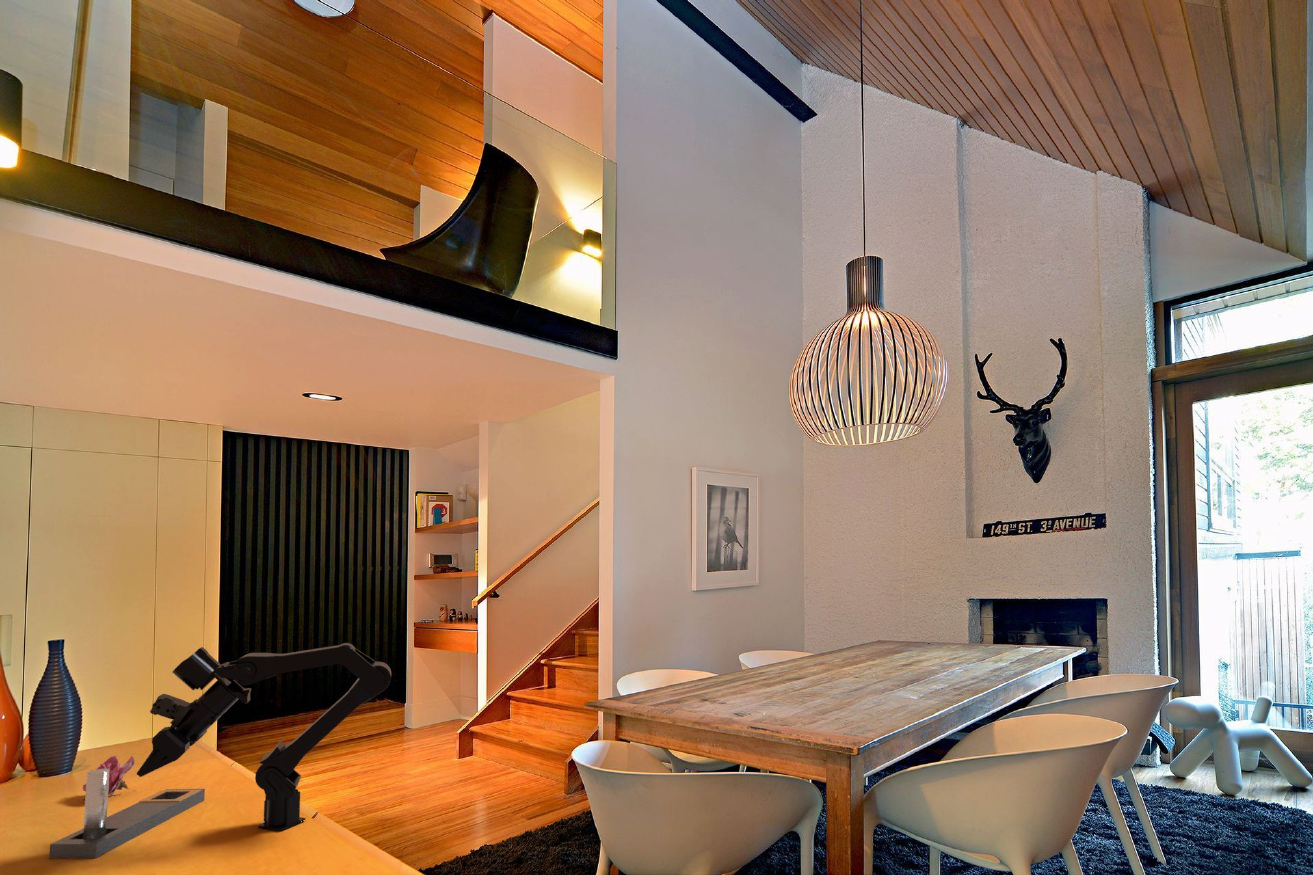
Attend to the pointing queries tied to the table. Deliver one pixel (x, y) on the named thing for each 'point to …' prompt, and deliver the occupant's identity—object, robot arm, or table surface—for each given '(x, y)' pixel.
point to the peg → (96, 804)
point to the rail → (128, 823)
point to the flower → (115, 773)
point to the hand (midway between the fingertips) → (145, 768)
